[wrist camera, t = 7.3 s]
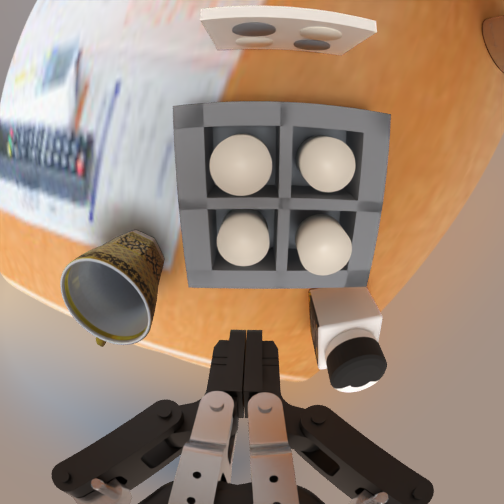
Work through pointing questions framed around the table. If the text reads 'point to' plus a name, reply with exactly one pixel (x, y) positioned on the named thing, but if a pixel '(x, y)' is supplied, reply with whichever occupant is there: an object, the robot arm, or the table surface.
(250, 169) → the button
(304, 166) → the button
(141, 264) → the ceramic cup
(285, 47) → the card
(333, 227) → the button
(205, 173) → the board
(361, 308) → the medicine bottle
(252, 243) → the button
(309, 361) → the table surface
